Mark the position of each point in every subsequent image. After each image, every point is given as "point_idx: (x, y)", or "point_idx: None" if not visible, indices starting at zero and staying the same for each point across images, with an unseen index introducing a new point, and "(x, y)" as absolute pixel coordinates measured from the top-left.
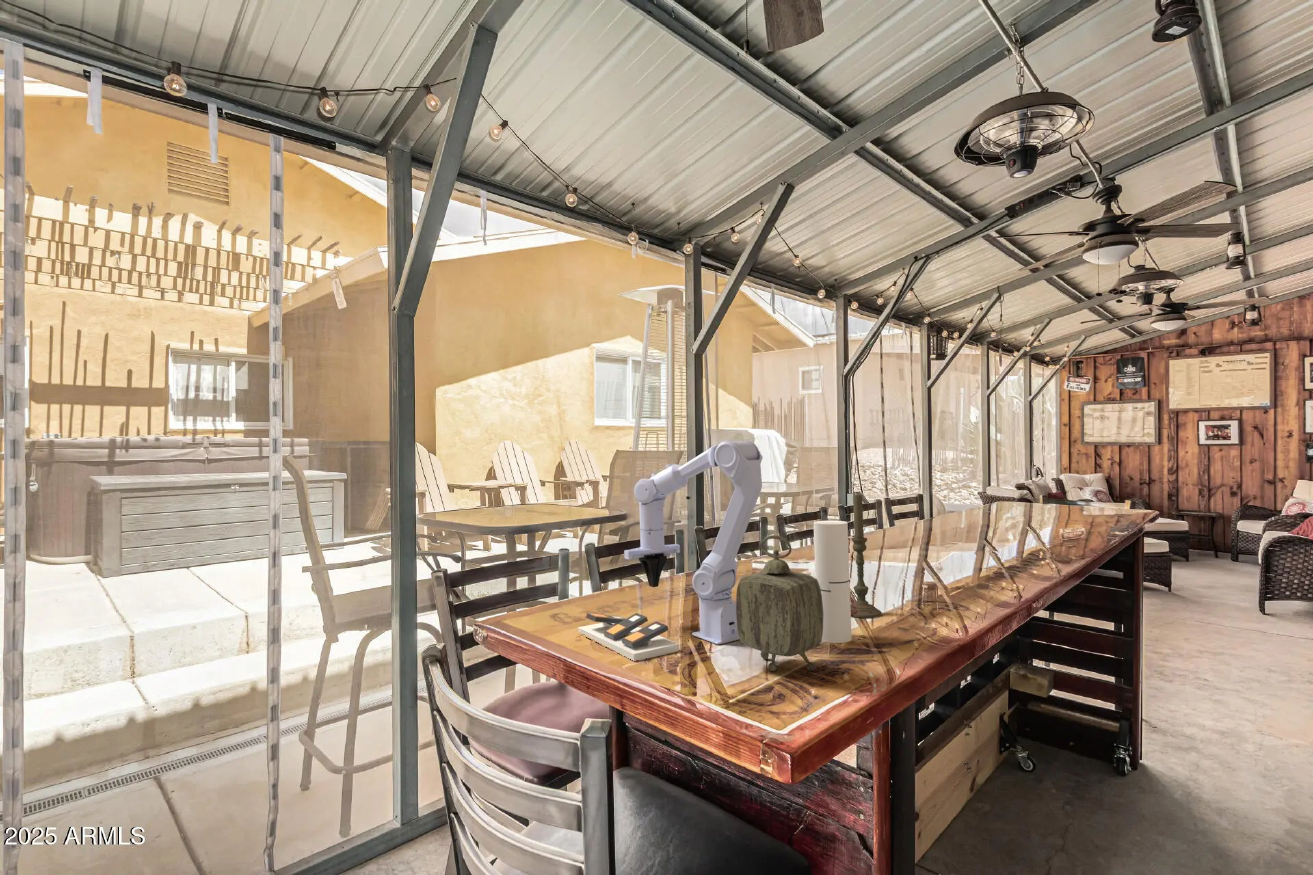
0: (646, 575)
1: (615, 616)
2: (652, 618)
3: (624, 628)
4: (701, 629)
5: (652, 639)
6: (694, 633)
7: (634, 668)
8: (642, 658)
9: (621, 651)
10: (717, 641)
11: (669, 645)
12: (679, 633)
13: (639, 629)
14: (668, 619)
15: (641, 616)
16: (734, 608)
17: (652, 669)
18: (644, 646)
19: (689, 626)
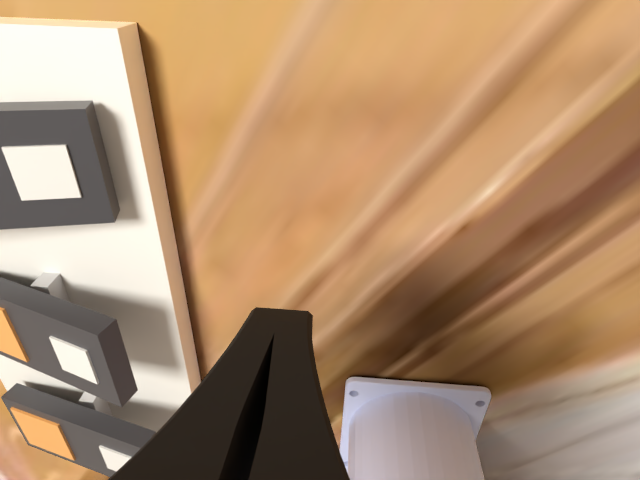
0: (201, 382)
1: (37, 123)
2: (418, 8)
3: (25, 358)
4: (350, 439)
5: (145, 395)
6: (350, 391)
7: (39, 451)
8: None
9: None
10: (346, 469)
11: None
12: (330, 329)
13: (151, 280)
14: (474, 110)
15: (105, 382)
16: None
17: (81, 474)
18: None
19: (441, 287)
